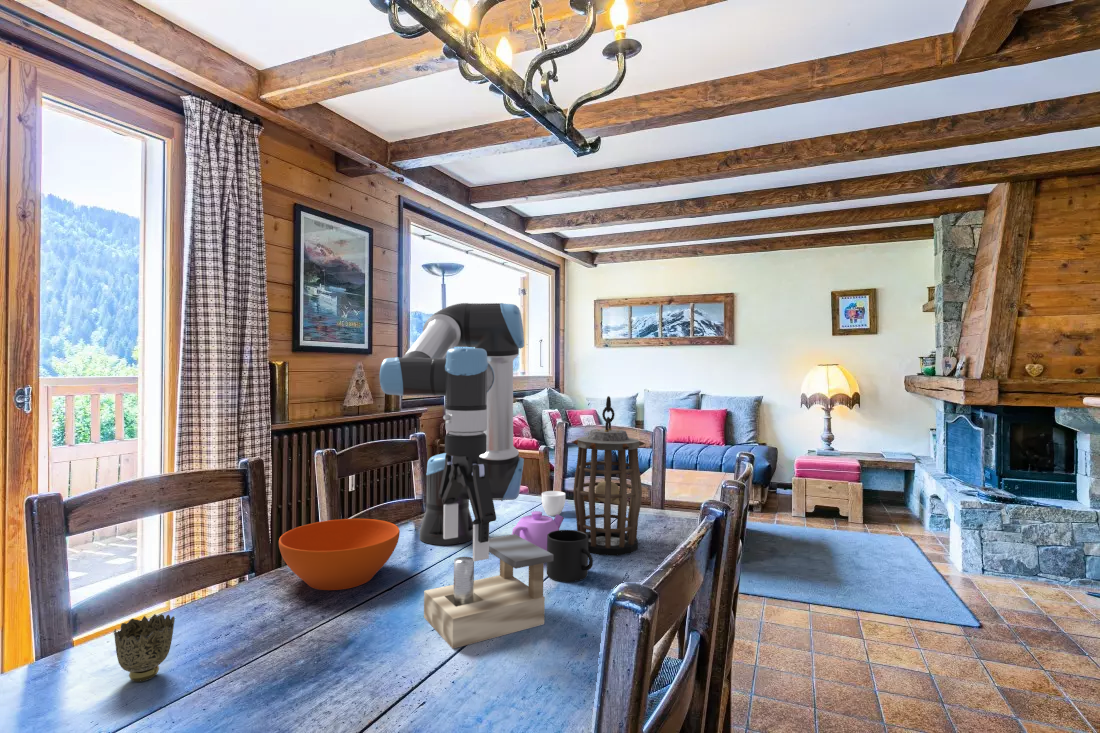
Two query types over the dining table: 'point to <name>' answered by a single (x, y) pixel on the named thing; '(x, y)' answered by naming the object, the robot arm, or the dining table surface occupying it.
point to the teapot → (537, 528)
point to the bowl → (339, 551)
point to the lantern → (608, 489)
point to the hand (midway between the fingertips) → (464, 548)
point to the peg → (463, 581)
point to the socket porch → (493, 597)
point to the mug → (568, 555)
